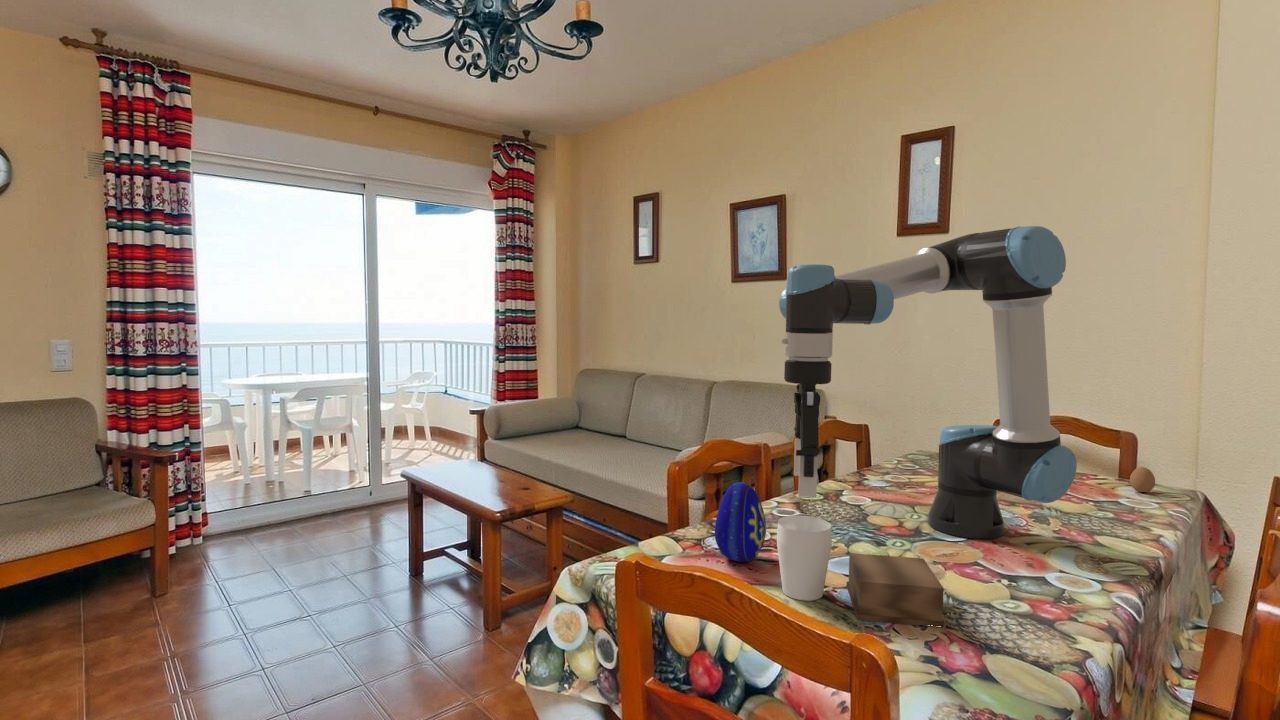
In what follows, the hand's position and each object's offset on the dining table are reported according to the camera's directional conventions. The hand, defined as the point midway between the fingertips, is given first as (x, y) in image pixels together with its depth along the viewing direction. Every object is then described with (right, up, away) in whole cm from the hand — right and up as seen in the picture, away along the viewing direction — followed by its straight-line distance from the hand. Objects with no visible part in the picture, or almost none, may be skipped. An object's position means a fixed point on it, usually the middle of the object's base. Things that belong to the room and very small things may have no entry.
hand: (804, 485), depth 106 cm
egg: (+109, -15, +66) cm, 128 cm away
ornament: (-8, -18, +16) cm, 25 cm away
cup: (0, -19, +1) cm, 19 cm away
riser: (+13, -19, -3) cm, 23 cm away
